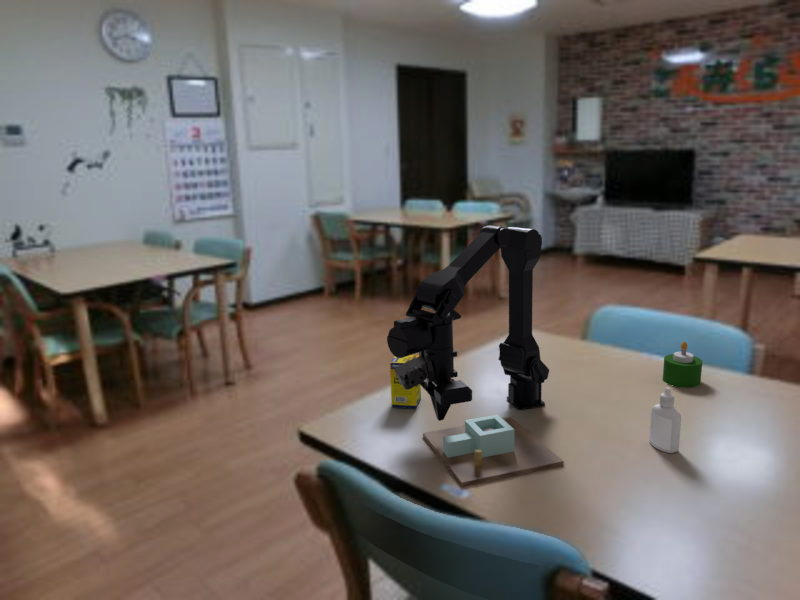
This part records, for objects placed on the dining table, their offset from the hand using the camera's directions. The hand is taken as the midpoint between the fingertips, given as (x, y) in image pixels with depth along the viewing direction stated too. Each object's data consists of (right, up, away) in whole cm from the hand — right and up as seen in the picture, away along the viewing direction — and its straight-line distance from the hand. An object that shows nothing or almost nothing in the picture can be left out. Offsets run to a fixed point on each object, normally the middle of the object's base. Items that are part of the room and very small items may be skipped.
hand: (440, 419), depth 121 cm
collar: (+7, -5, -4) cm, 9 cm away
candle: (+59, +4, +26) cm, 65 cm away
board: (+9, -5, -3) cm, 11 cm away
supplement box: (-6, 0, +20) cm, 21 cm away
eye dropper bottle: (+42, -4, -5) cm, 43 cm away
